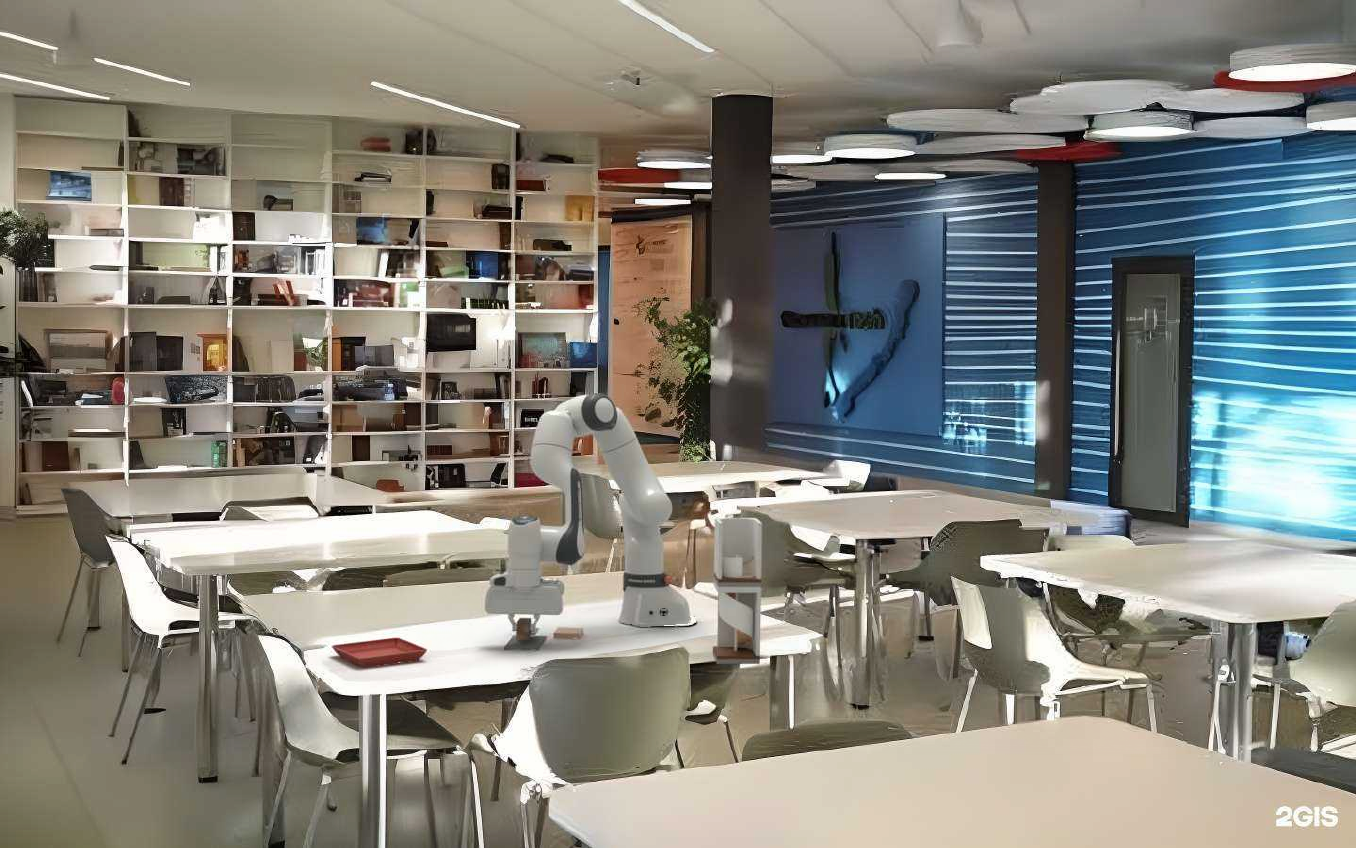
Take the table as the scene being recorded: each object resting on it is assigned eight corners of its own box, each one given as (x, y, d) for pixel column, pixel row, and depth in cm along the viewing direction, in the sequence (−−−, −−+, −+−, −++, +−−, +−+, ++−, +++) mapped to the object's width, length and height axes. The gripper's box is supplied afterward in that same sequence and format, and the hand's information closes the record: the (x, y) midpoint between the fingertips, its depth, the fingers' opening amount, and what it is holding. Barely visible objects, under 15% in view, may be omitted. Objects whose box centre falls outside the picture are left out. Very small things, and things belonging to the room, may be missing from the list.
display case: (712, 654, 351) (714, 517, 350) (753, 654, 352) (756, 518, 351) (716, 664, 340) (719, 523, 339) (759, 664, 341) (762, 523, 339)
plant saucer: (358, 671, 328) (359, 657, 328) (330, 657, 343) (330, 644, 343) (428, 662, 339) (428, 649, 338) (397, 650, 353) (398, 637, 353)
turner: (538, 630, 368) (538, 613, 367) (531, 639, 355) (532, 622, 354) (520, 629, 368) (520, 613, 368) (512, 639, 355) (512, 622, 355)
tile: (579, 641, 368) (583, 635, 376) (579, 633, 368) (583, 627, 376) (553, 640, 369) (557, 634, 377) (553, 633, 369) (557, 627, 377)
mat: (546, 638, 369) (546, 635, 369) (538, 650, 353) (538, 648, 353) (513, 637, 369) (513, 635, 369) (503, 649, 354) (503, 647, 353)
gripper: (565, 577, 360) (565, 629, 361) (487, 575, 361) (487, 628, 361) (562, 581, 354) (562, 634, 354) (483, 579, 354) (483, 632, 355)
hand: (523, 631), depth 358 cm, fingers closed on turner, 3 cm apart
